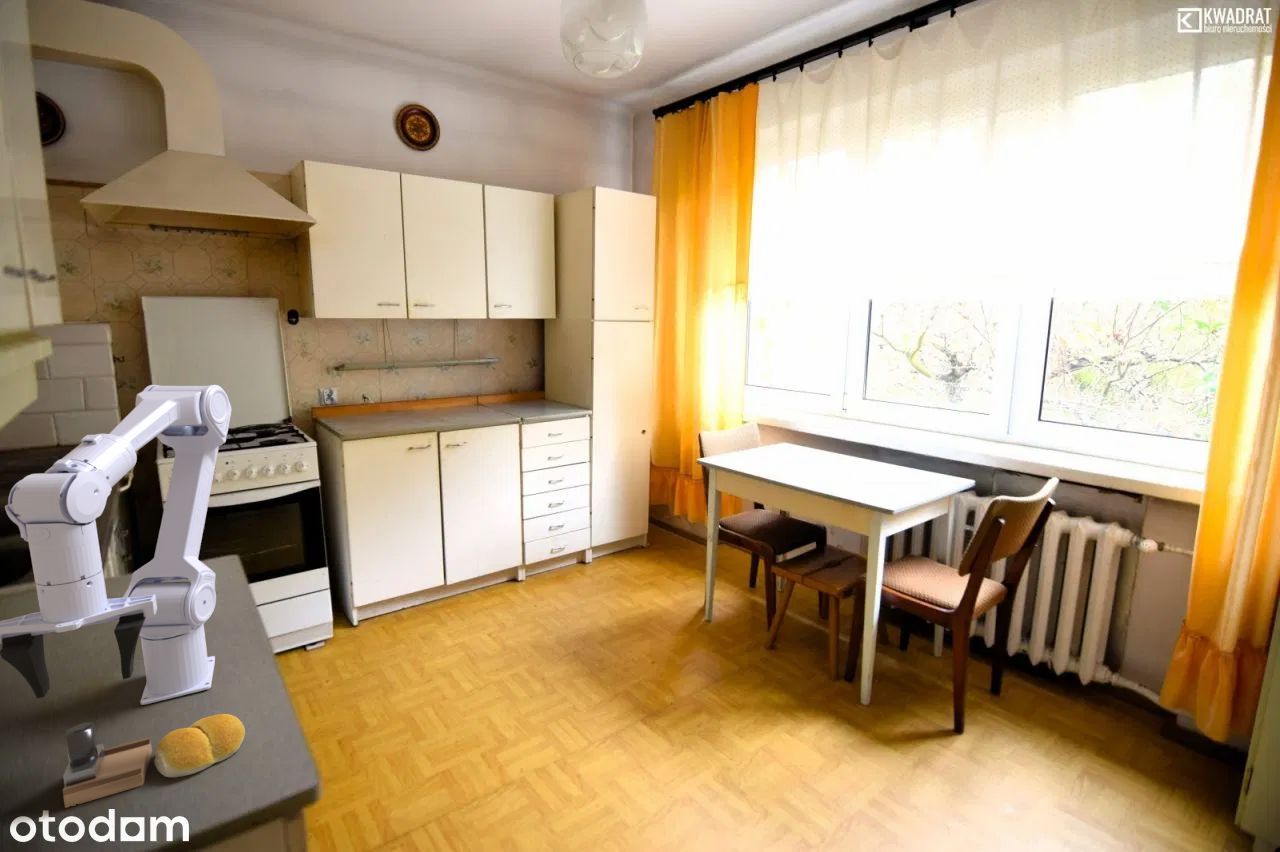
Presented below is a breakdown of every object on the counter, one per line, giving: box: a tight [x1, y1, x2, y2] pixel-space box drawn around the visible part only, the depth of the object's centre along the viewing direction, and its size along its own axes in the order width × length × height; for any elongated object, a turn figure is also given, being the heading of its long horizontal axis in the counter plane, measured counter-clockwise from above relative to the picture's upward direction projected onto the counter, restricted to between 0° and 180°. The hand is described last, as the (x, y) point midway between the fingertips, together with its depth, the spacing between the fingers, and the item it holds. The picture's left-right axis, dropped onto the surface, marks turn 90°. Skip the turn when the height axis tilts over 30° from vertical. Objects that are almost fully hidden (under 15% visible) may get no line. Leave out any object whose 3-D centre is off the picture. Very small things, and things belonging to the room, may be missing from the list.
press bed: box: [62, 736, 153, 809], centre depth 71 cm, size 6×7×2 cm
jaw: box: [62, 722, 105, 787], centre depth 70 cm, size 5×3×5 cm, turn 31°
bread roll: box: [153, 713, 246, 778], centre depth 76 cm, size 8×9×4 cm
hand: (86, 683), depth 73 cm, fingers open, 7 cm apart
